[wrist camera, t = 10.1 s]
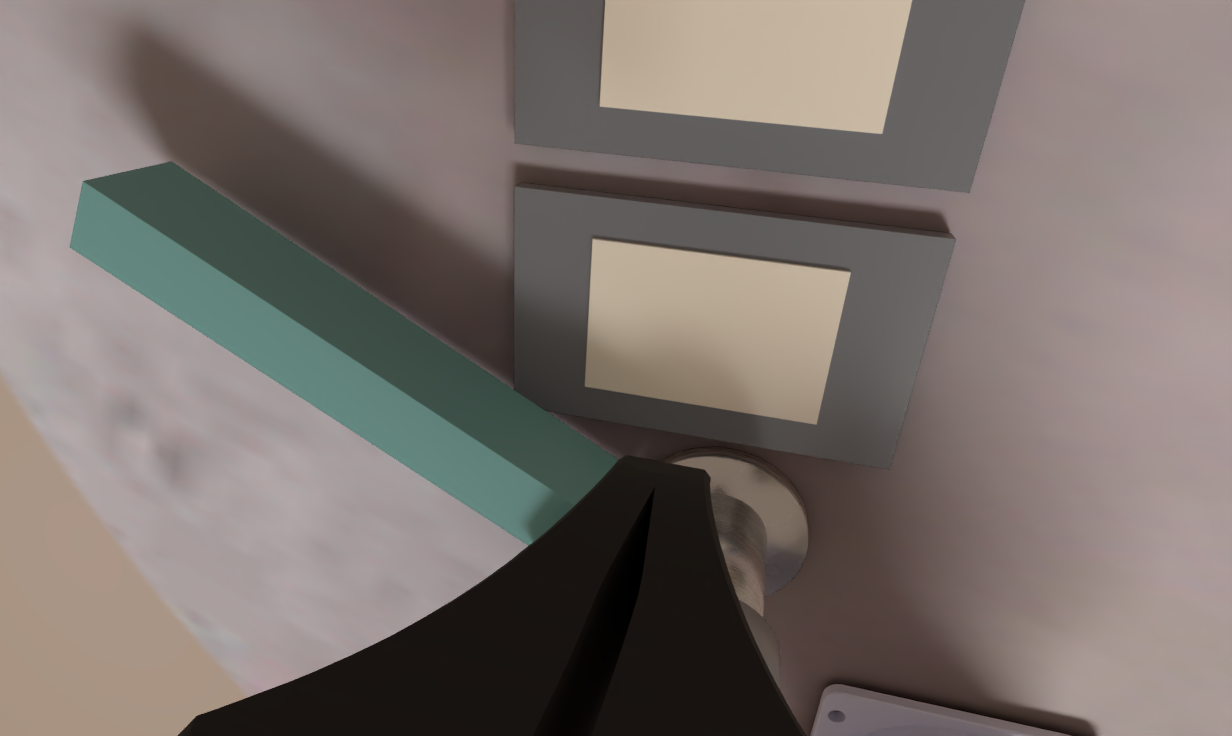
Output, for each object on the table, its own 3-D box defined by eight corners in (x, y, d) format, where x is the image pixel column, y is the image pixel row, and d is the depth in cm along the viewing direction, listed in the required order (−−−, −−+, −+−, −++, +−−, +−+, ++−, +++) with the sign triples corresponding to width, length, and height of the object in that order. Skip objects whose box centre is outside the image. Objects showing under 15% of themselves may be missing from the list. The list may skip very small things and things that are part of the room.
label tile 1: (964, 188, 15) (970, 193, 15) (522, 140, 17) (513, 144, 16) (1060, -153, 13) (1072, -160, 12) (523, -170, 14) (513, -178, 14)
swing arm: (810, 552, 18) (815, 686, 15) (727, 627, 20) (713, 764, 16) (180, 129, 17) (12, 158, 13) (148, 248, 19) (-9, 302, 15)
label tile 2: (886, 459, 18) (889, 472, 18) (520, 396, 20) (512, 406, 20) (951, 233, 16) (957, 240, 15) (521, 182, 17) (513, 187, 17)
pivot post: (790, 604, 21) (790, 734, 17) (626, 570, 22) (591, 687, 18) (824, 464, 19) (833, 578, 15) (639, 433, 20) (602, 532, 16)
